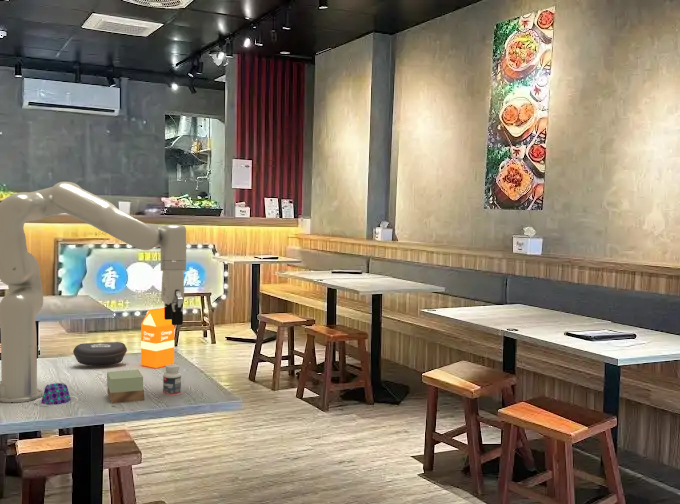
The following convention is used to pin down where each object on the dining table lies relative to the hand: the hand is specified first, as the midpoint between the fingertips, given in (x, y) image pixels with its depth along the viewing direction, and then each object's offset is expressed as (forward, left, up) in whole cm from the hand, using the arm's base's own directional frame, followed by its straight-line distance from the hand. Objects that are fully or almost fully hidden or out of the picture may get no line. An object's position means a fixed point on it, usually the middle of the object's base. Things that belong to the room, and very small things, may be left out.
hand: (173, 322), depth 216 cm
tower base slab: (-14, -1, -23) cm, 27 cm away
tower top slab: (-14, -1, -19) cm, 24 cm away
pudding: (-33, +4, -23) cm, 40 cm away
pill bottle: (0, 0, -23) cm, 23 cm away
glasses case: (-15, +47, -23) cm, 54 cm away
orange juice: (+4, +40, -23) cm, 46 cm away
